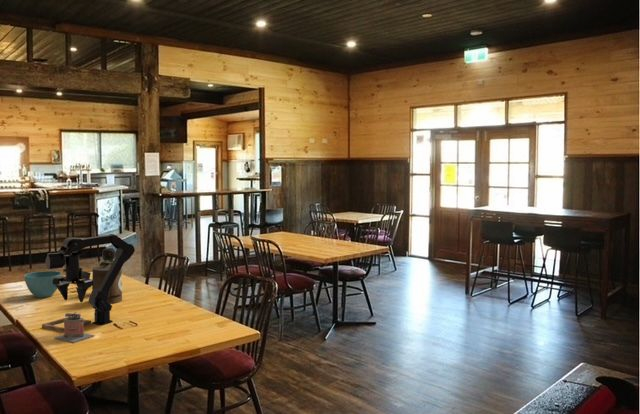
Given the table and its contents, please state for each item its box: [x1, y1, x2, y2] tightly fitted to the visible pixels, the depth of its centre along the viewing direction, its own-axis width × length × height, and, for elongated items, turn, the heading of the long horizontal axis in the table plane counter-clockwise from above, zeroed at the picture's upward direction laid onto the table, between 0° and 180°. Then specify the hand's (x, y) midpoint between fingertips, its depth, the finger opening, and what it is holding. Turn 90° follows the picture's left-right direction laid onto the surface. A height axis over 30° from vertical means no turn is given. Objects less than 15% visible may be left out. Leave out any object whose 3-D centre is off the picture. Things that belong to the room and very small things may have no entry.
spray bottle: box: [98, 247, 116, 266], centre depth 311 cm, size 10×10×25 cm
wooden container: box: [91, 260, 123, 305], centre depth 291 cm, size 15×15×22 cm
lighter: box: [63, 312, 85, 338], centre depth 229 cm, size 8×3×10 cm, turn 93°
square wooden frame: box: [41, 317, 92, 333], centre depth 246 cm, size 14×14×2 cm
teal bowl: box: [23, 270, 62, 299], centre depth 301 cm, size 18×18×12 cm
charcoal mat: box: [53, 332, 95, 344], centre depth 230 cm, size 12×10×1 cm
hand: (73, 300), depth 242 cm, fingers open, 9 cm apart
